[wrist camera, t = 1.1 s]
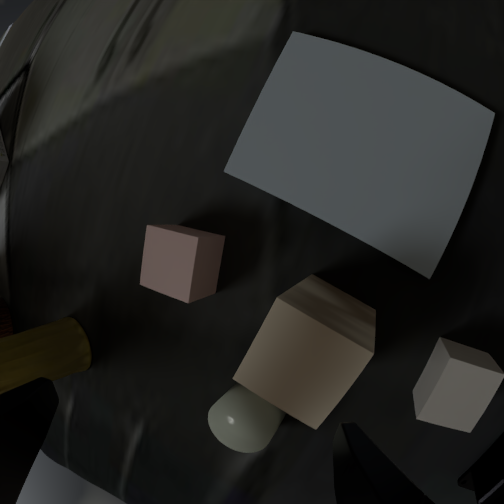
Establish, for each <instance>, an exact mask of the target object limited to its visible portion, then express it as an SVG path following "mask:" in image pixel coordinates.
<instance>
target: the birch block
mask: <svg viewBox="0 0 504 504" xmlns="http://www.w3.org/2000/svg"><path fill="white" fill-rule="evenodd" d="M375 324H376V310H375V309H373V308H371V307H370V306H368V305H366V304H364V303H362V302H361V301H359V300H357V299H355V298H354V297H352V296H350V295H348V294H347V293H345V292H343V291H341V290H340V289H338V288H336V287H334V286H333V285H331V284H329V283H327V282H325V281H324V280H322V279H320V278H318V277H317V276H315V275H313V274H312V275H310V276H309V277H307V278H306V279H304V280H303V281H301V282H300V283H298V284H297V285H295V286H294V287H292V288H291V289H289V290H287V291H286V292H284V293H283V294H281V295H280V296H278V297H277V298H276V300H275V302H274V304H273V306H272V308H271V309H270V311H269V313H268V315H267V317H266V319H265V321H264V323H263V324H262V326H261V328H260V330H259V332H258V334H257V336H256V337H255V339H254V341H253V343H252V345H251V347H250V348H249V350H248V352H247V354H246V356H245V357H244V359H243V361H242V363H241V365H240V366H239V368H238V370H237V372H236V374H235V375H234V377H233V379H234V380H235V381H237V382H238V383H240V384H241V385H243V386H244V387H246V388H247V389H249V390H250V391H252V392H254V393H255V394H257V395H258V396H260V397H261V398H263V399H265V400H266V401H268V402H269V403H271V404H273V405H274V406H276V407H278V408H279V409H281V410H283V411H284V412H286V413H288V414H289V415H291V416H293V417H294V418H296V419H298V420H300V421H301V422H303V423H305V424H307V425H308V426H310V427H312V428H314V429H317V428H318V427H319V426H320V424H321V423H322V422H323V421H324V420H325V418H326V417H327V416H328V415H329V414H330V412H331V411H332V410H333V409H334V407H335V406H336V405H337V404H338V402H339V401H340V400H341V398H342V397H343V396H344V395H345V393H346V392H347V391H348V389H349V388H350V387H351V385H352V384H353V383H354V381H355V380H356V379H357V377H358V376H359V374H360V373H361V372H362V370H363V369H364V367H365V366H366V365H367V363H368V362H369V360H370V359H371V357H372V356H373V354H374V346H375Z"/></svg>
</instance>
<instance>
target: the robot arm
mask: <svg viewBox="0 0 504 504" xmlns="http://www.w3.org/2000/svg"><path fill="white" fill-rule="evenodd" d="M58 403H59V398H58V395H57V392H56V390H55V387H54V384H53V382H52V381H51V380H50V379H47V378H44V377H39V378H37V379H35V380H32V381H30V382H28V383H25V384H23V385H21V386H18V387H16V388H14V389H11V390H9V391H7V392H4V393H2V394H0V504H16V501H17V499H18V497H19V494H20V492H21V490H22V487H23V485H24V483H25V480H26V478H27V476H28V474H29V472H30V469H31V467H32V465H33V463H34V461H35V459H36V457H37V454H38V452H39V450H40V448H41V446H42V444H43V442H44V440H45V438H46V435H47V433H48V430H49V427H50V425H51V422H52V419H53V417H54V414H55V412H56V409H57V406H58ZM333 465H334V488H335V495H336V501H337V504H435V503H434V502H433V501H432V500H430V499H429V498H428V497H427V496H426V495H424V493H423V492H422V491H421V490H420V489H419V488H418V487H417V486H416V485H415V484H414V483H413V482H412V481H411V480H410V479H409V478H408V477H407V476H406V475H405V474H404V473H403V472H402V471H401V470H400V469H399V468H398V467H397V466H396V465H395V464H394V463H393V462H392V461H391V460H390V459H389V458H388V457H387V456H386V455H385V454H384V453H383V452H382V451H381V450H380V448H379V447H378V446H377V445H376V444H375V443H374V442H373V441H372V440H371V439H370V438H369V437H368V436H367V435H366V434H365V433H364V432H363V431H362V430H361V429H360V428H359V427H358V425H357V424H356V423H354V422H342V423H340V424H339V426H338V429H337V431H336V434H335V437H334V439H333ZM458 485H459V486H460V487H463V488H466V489H469V490H472V491H475V495H476V500H477V504H504V432H503V434H502V435H501V436H500V437H499V438H498V439H497V440H496V442H495V443H494V444H493V445H492V446H491V447H490V448H489V449H488V450H487V451H486V452H485V453H484V454H483V455H482V456H481V458H480V459H479V460H478V461H477V462H476V463H475V464H474V465H472V466H471V467H470V468H469V469H468V470H467V471H466V472H465V473H464V474H463V475H462V476H461V477H460V478H459V479H458Z"/></svg>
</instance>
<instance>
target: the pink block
mask: <svg viewBox="0 0 504 504" xmlns="http://www.w3.org/2000/svg"><path fill="white" fill-rule="evenodd" d="M224 241H225V236H222V235H218V234H214V233H210V232H205V231H201V230H197V229H193V228H188V227H184V226H180V225H147V229H146V236H145V244H144V251H143V260H142V268H141V277H140V285H142V286H145V287H147V288H150V289H152V290H155V291H157V292H160V293H162V294H165V295H168V296H170V297H173V298H175V299H178V300H181V301H183V302H186V303H191V302H193V301H196V300H199V299H201V298H204V297H207V296H209V295H212V294H215V293H216V287H217V281H218V275H219V270H220V264H221V258H222V252H223V247H224Z"/></svg>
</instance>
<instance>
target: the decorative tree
mask: <svg viewBox="0 0 504 504" xmlns="http://www.w3.org/2000/svg"><path fill="white" fill-rule="evenodd" d="M11 335H13V326H12V320H11V316H10V312H9V309H8V307H7V304H6V302H5V301H4V299H3V298H0V338H3V337H7V336H11Z"/></svg>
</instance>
